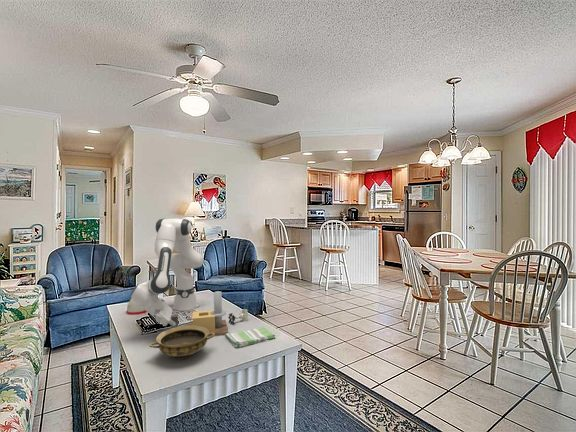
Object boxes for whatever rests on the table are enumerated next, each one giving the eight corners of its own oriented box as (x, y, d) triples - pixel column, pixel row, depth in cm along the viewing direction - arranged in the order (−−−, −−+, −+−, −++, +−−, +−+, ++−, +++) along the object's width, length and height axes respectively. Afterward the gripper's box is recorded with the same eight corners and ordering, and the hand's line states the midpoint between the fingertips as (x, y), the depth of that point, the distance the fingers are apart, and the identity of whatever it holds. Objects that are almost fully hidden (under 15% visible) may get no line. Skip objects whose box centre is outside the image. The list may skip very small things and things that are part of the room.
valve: (244, 318, 199) (228, 322, 192) (244, 307, 199) (228, 312, 192) (250, 320, 194) (233, 325, 187) (250, 310, 194) (233, 314, 187)
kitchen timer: (129, 316, 204) (128, 293, 204) (124, 310, 215) (124, 289, 215) (151, 311, 213) (151, 290, 212) (146, 306, 224) (145, 286, 223)
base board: (186, 325, 186) (186, 323, 186) (225, 321, 193) (225, 319, 193) (185, 339, 167) (185, 336, 167) (228, 334, 174) (228, 331, 174)
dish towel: (224, 337, 170) (224, 331, 170) (262, 329, 182) (262, 323, 182) (235, 350, 156) (235, 343, 155) (276, 339, 167) (276, 333, 167)
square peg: (171, 332, 176) (171, 315, 176) (178, 332, 177) (177, 314, 177) (171, 335, 173) (170, 317, 173) (177, 334, 174) (177, 316, 174)
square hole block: (193, 325, 184) (192, 291, 183) (225, 321, 189) (224, 289, 188) (192, 332, 172) (192, 297, 172) (226, 329, 177) (226, 294, 177)
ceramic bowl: (211, 339, 167) (211, 321, 166) (219, 359, 145) (219, 338, 144) (150, 349, 155) (149, 330, 155) (148, 373, 133) (148, 350, 133)
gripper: (158, 309, 163) (178, 325, 166) (162, 298, 182) (180, 313, 185) (149, 318, 162) (169, 334, 165) (154, 306, 181) (172, 321, 184)
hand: (175, 323), depth 175 cm, fingers closed on square peg, 4 cm apart
